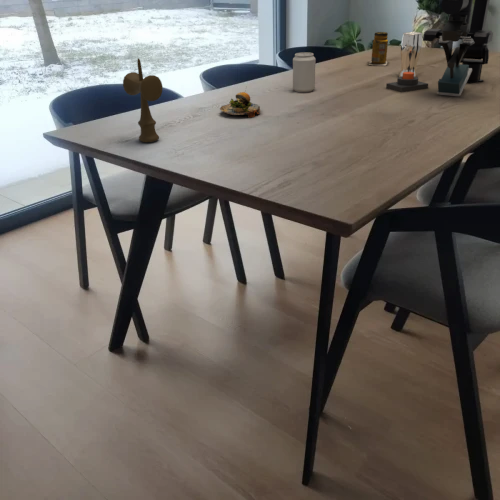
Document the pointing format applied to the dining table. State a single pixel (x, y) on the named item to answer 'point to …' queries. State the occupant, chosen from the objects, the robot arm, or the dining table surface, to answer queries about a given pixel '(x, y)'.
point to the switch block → (406, 85)
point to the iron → (454, 77)
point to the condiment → (379, 49)
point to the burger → (241, 106)
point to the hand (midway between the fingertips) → (452, 66)
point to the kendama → (144, 100)
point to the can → (304, 72)
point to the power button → (408, 75)
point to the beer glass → (410, 51)
